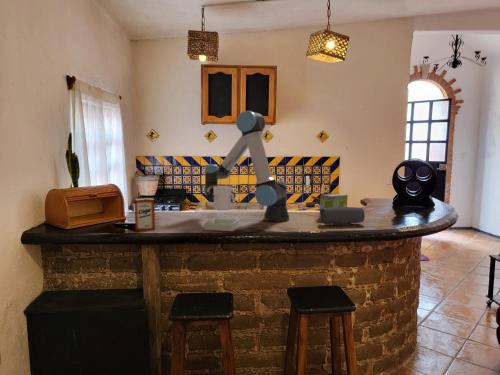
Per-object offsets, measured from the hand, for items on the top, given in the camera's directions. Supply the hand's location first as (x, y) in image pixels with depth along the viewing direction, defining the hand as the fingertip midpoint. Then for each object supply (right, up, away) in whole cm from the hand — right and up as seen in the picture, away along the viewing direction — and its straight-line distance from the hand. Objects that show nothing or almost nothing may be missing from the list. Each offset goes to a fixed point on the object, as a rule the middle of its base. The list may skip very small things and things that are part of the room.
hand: (224, 197), depth 186 cm
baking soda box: (-42, -17, +1) cm, 45 cm away
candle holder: (-2, -7, +5) cm, 9 cm away
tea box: (+64, -14, +35) cm, 75 cm away
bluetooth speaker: (+65, -16, +15) cm, 68 cm away
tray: (-1, -16, +6) cm, 17 cm away
